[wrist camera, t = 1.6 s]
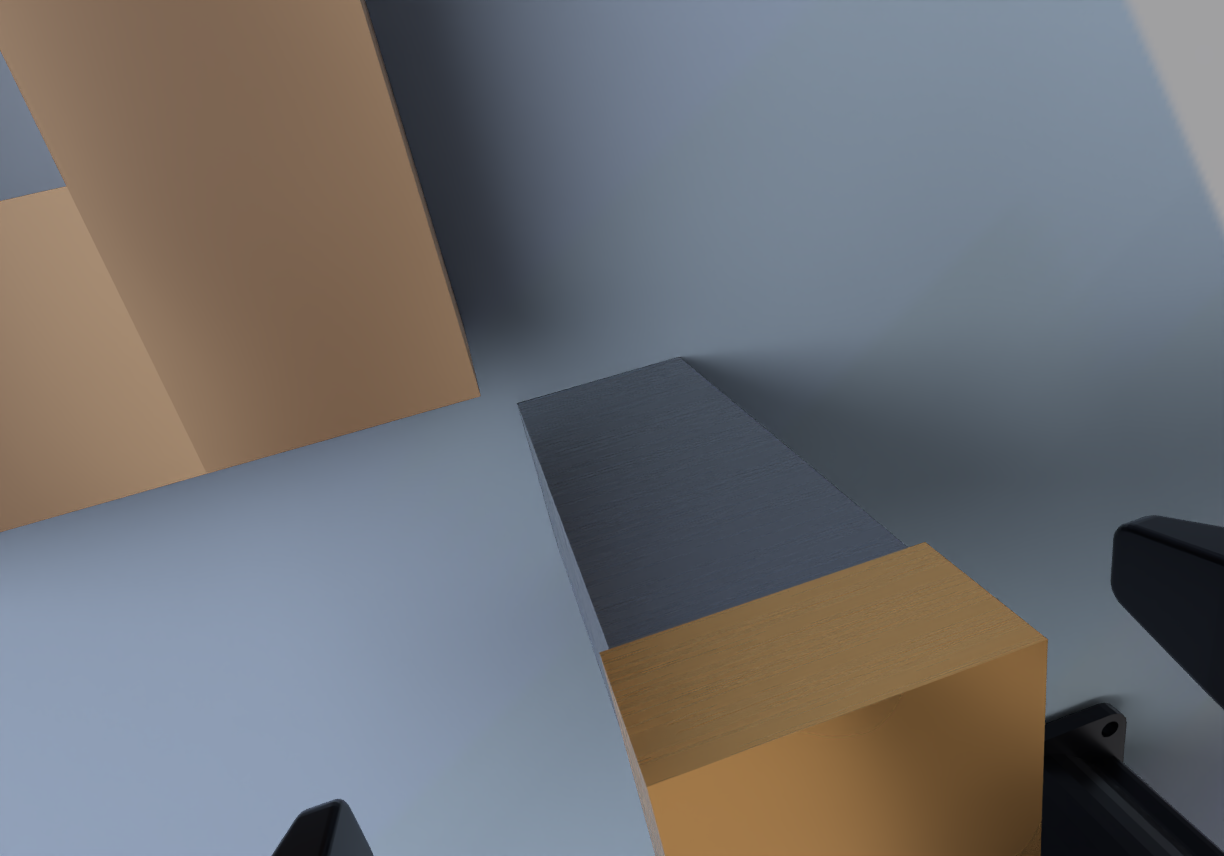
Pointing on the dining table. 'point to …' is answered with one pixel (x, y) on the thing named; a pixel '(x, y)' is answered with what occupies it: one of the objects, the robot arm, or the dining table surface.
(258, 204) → the block
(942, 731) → the orange and grey peg
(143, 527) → the dining table surface
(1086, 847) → the robot arm
